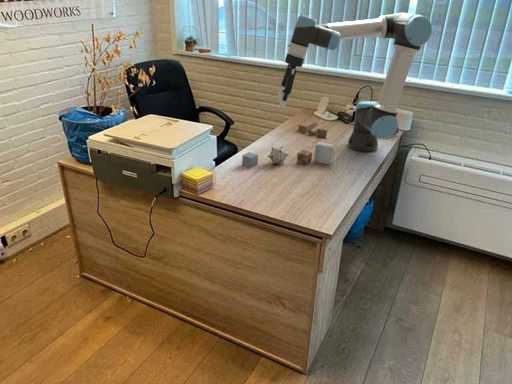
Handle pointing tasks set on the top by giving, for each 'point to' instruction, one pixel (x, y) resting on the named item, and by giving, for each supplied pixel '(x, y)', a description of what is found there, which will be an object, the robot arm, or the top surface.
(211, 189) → the top surface
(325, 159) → the medicine box
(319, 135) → the wooden block set
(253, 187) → the top surface
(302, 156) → the walnut cube
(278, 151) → the game die
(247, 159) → the slate grey cube
